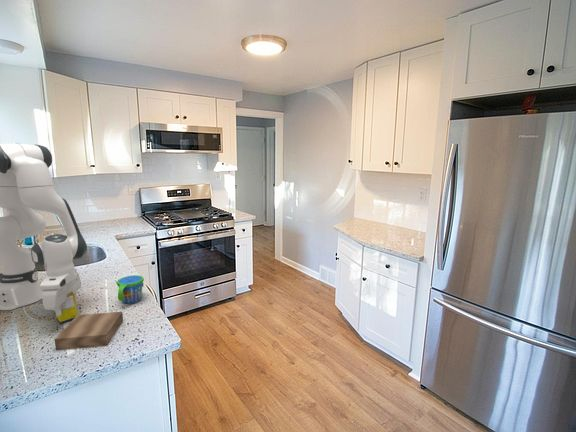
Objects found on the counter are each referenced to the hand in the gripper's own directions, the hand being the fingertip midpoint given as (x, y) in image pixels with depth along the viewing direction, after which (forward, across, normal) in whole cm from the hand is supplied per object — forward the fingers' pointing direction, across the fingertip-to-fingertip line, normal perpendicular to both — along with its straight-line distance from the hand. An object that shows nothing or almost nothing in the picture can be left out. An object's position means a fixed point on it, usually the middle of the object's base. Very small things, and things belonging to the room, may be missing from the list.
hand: (66, 308), depth 122 cm
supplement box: (+4, 0, 0) cm, 4 cm away
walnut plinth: (+4, +13, +14) cm, 20 cm away
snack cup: (+5, -13, +20) cm, 25 cm away
